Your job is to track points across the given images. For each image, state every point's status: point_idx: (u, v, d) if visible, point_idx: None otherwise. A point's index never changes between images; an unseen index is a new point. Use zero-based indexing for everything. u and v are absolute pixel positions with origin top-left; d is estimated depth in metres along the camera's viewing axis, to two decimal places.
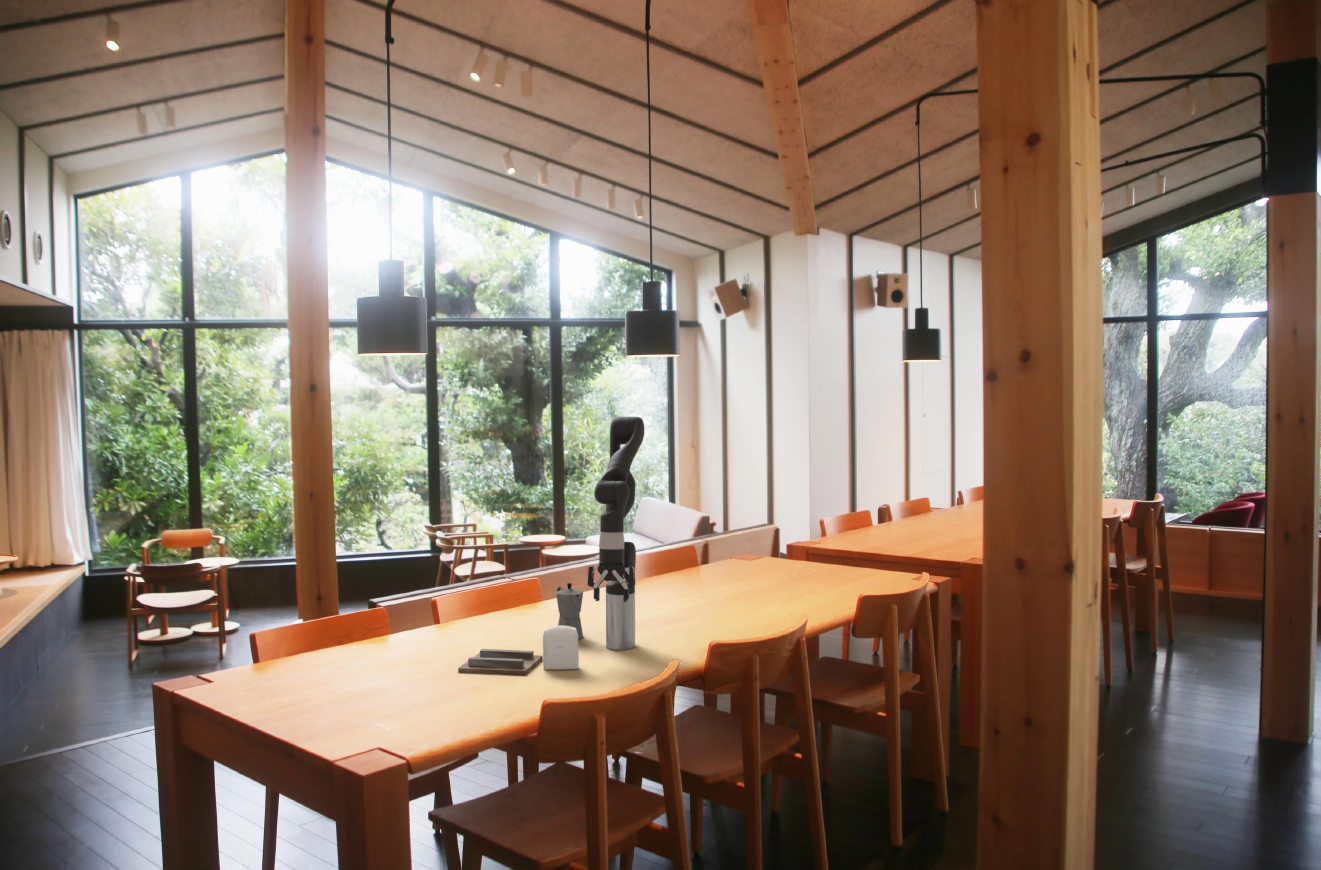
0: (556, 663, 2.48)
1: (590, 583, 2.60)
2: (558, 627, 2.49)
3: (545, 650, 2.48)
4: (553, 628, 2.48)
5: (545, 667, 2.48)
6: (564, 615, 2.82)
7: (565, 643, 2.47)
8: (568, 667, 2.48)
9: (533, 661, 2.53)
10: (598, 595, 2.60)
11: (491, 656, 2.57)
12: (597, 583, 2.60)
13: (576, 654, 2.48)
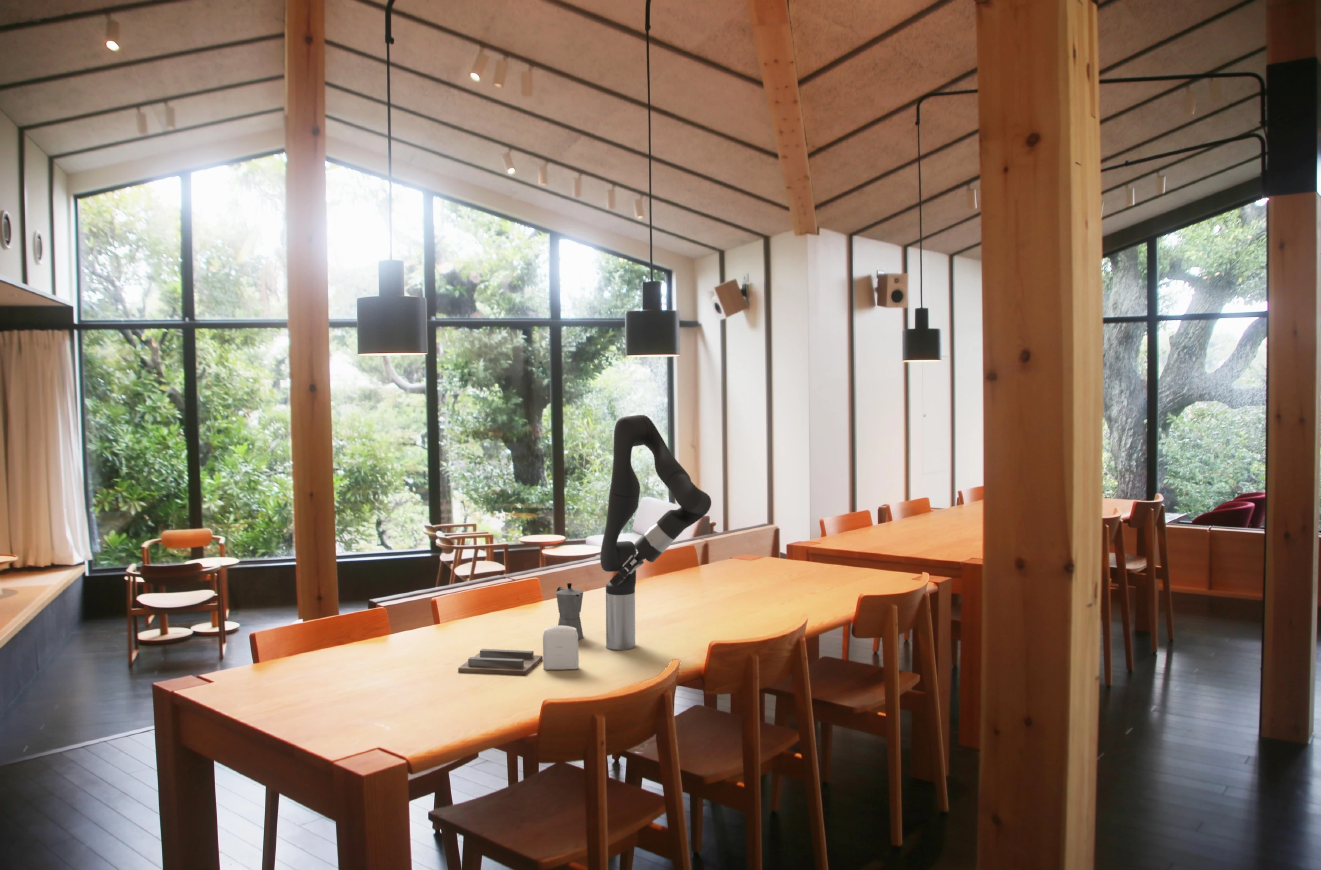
0: (556, 663, 2.48)
1: (626, 575, 2.40)
2: (558, 627, 2.49)
3: (545, 650, 2.48)
4: (553, 628, 2.48)
5: (545, 667, 2.48)
6: (564, 615, 2.82)
7: (565, 643, 2.47)
8: (568, 667, 2.48)
9: (533, 661, 2.53)
10: None
11: (491, 656, 2.57)
12: (628, 573, 2.42)
13: (576, 654, 2.48)
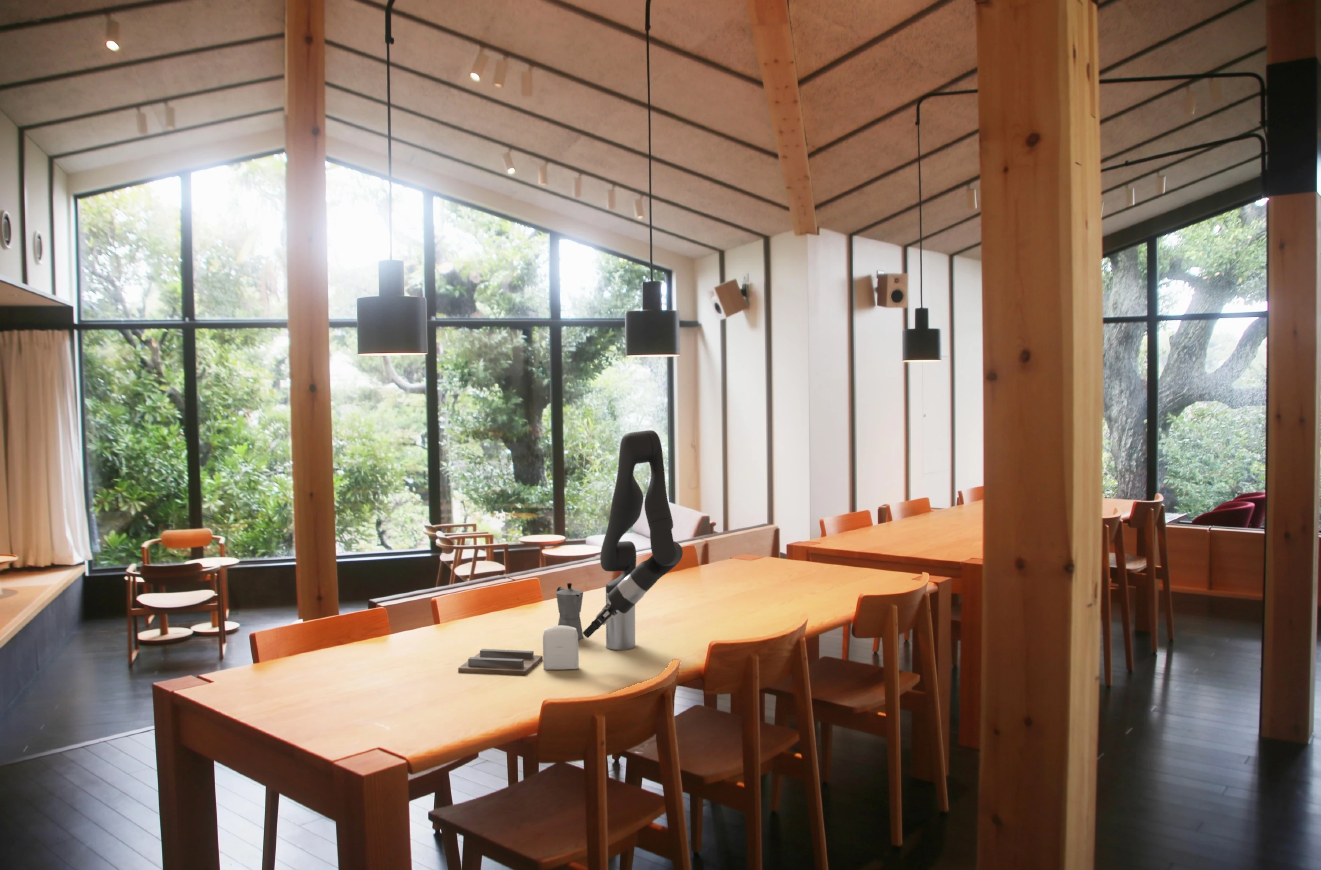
0: (556, 663, 2.48)
1: None
2: (558, 627, 2.49)
3: (545, 650, 2.48)
4: (553, 628, 2.48)
5: (545, 667, 2.48)
6: (564, 615, 2.82)
7: (565, 643, 2.47)
8: (568, 667, 2.48)
9: (533, 661, 2.53)
10: None
11: (491, 656, 2.57)
12: None
13: (576, 654, 2.48)
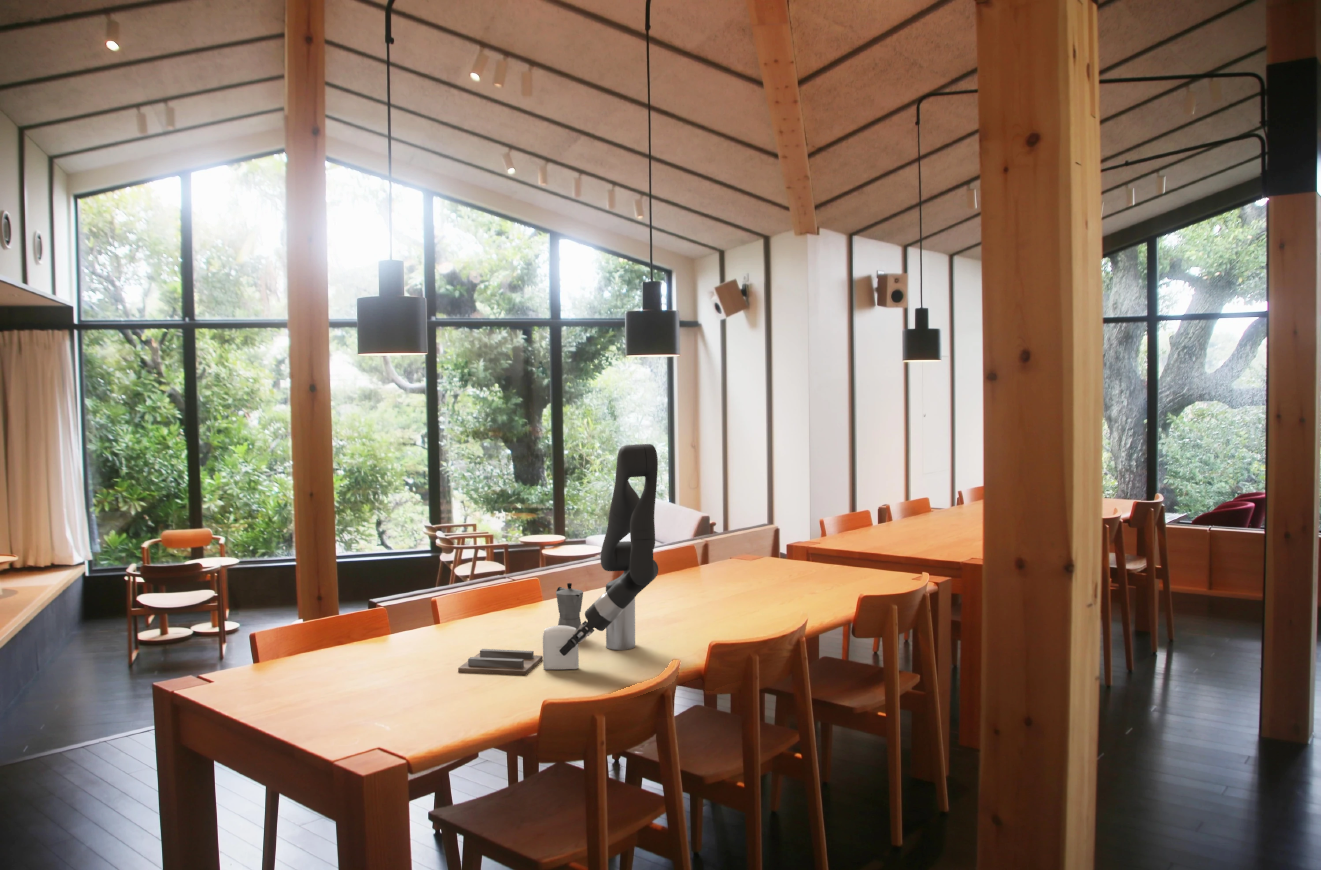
0: (556, 663, 2.47)
1: (575, 645, 2.44)
2: (558, 627, 2.48)
3: (545, 650, 2.48)
4: (553, 628, 2.48)
5: (545, 667, 2.48)
6: (564, 615, 2.82)
7: (565, 643, 2.47)
8: (568, 667, 2.48)
9: (533, 661, 2.53)
10: None
11: (491, 656, 2.57)
12: None
13: (576, 654, 2.48)
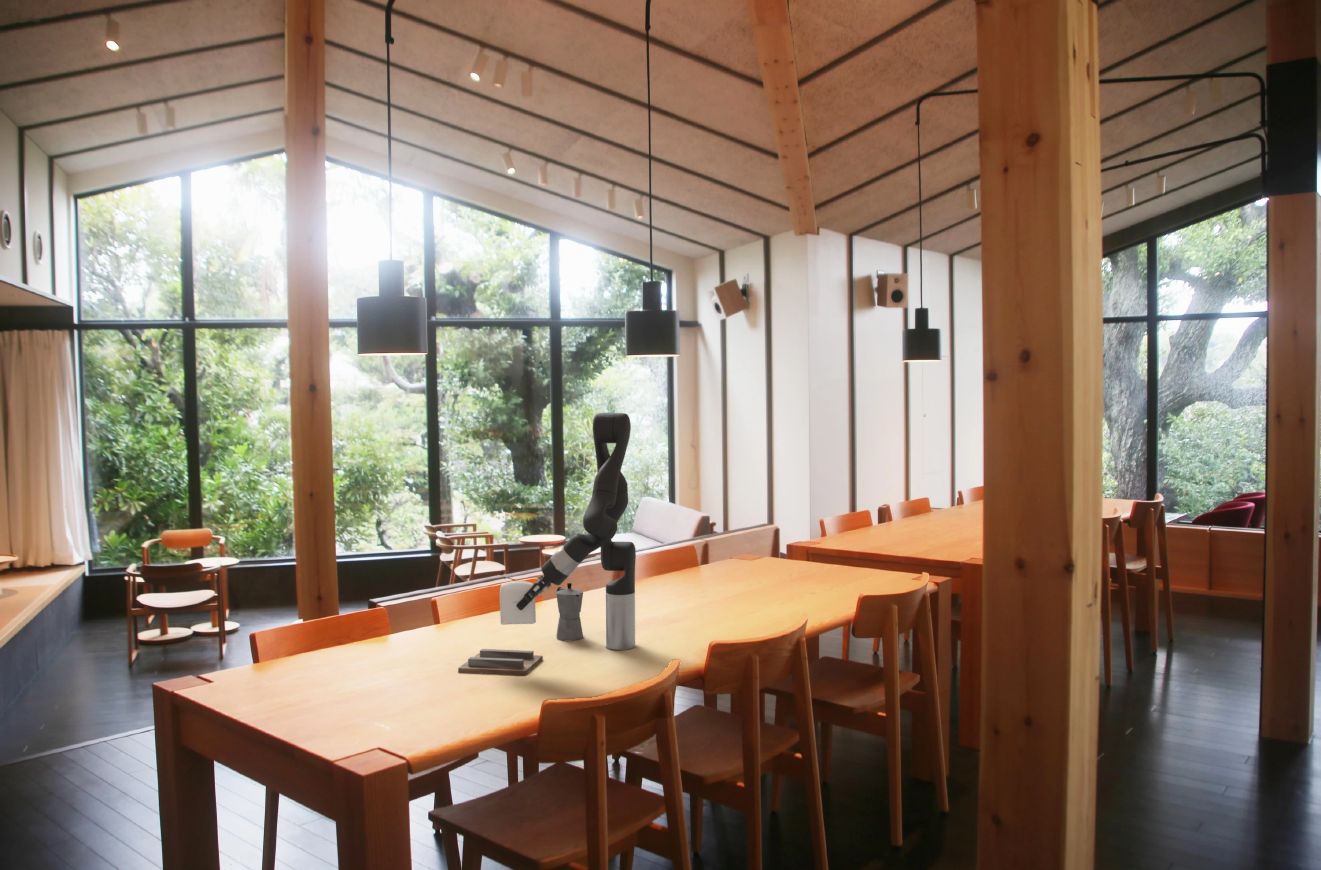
0: (513, 618, 2.49)
1: (531, 599, 2.46)
2: (515, 582, 2.50)
3: (502, 605, 2.49)
4: (510, 583, 2.49)
5: (502, 622, 2.49)
6: (564, 615, 2.82)
7: (521, 598, 2.48)
8: (525, 622, 2.49)
9: (533, 661, 2.53)
10: None
11: (491, 656, 2.57)
12: (534, 597, 2.47)
13: (533, 609, 2.49)
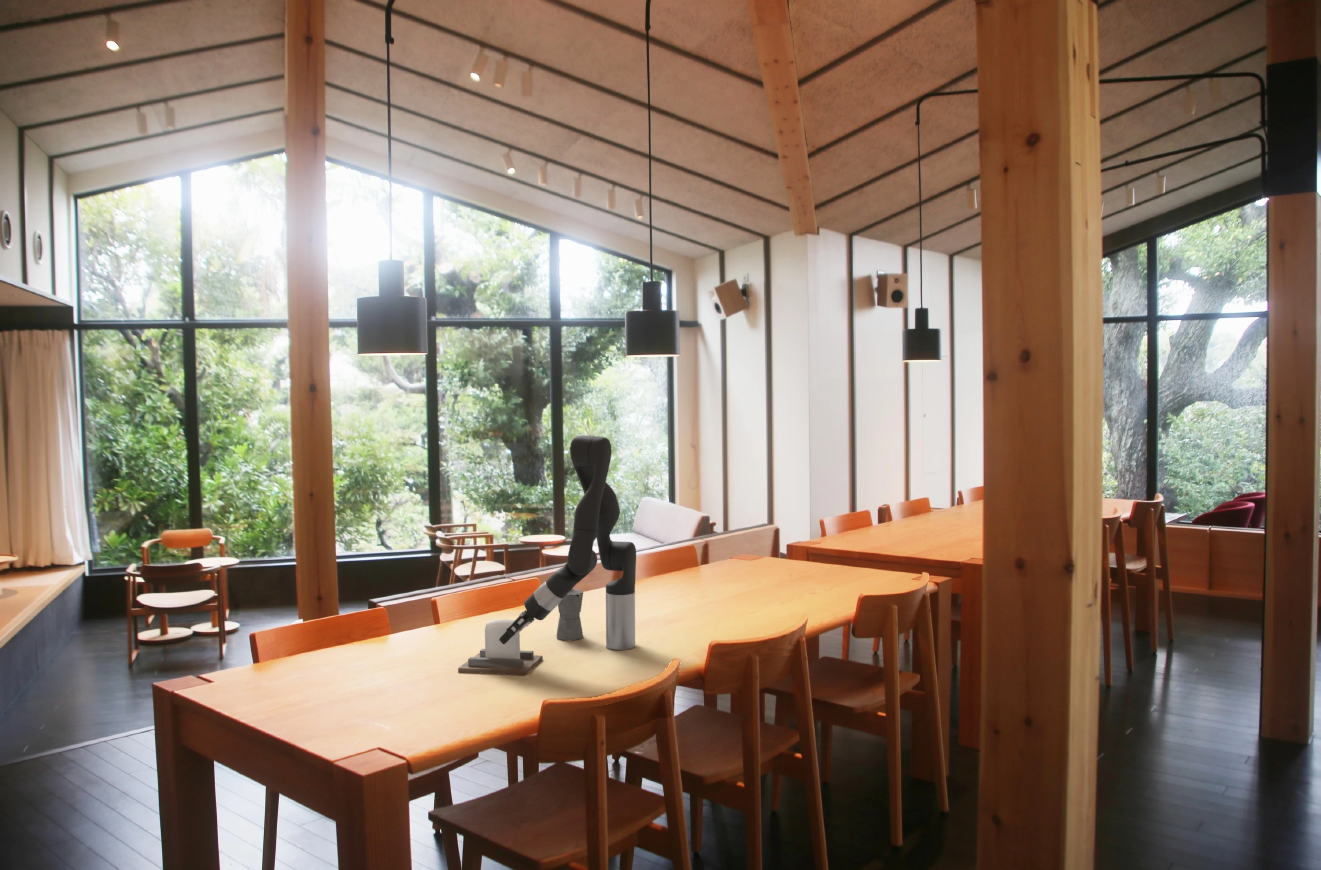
0: (497, 656, 2.51)
1: (514, 634, 2.45)
2: (499, 620, 2.52)
3: (486, 643, 2.51)
4: (494, 621, 2.52)
5: None
6: (564, 615, 2.82)
7: None
8: None
9: (533, 661, 2.53)
10: None
11: None
12: None
13: (517, 647, 2.51)
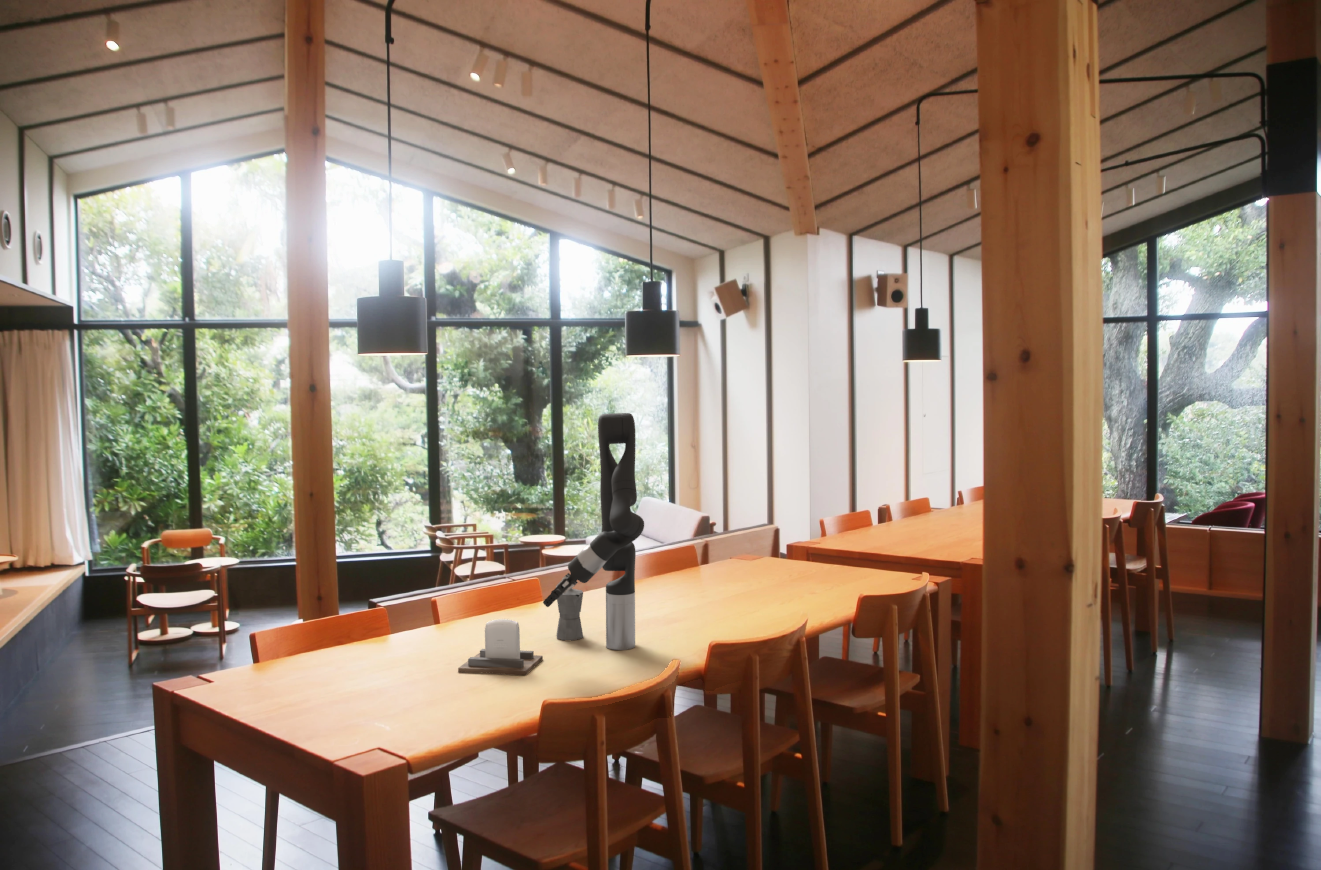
0: (497, 656, 2.51)
1: (558, 596, 2.43)
2: (499, 620, 2.52)
3: (486, 643, 2.51)
4: (494, 621, 2.52)
5: None
6: (564, 615, 2.82)
7: (505, 637, 2.51)
8: None
9: (533, 661, 2.53)
10: None
11: None
12: (561, 594, 2.45)
13: (517, 647, 2.51)
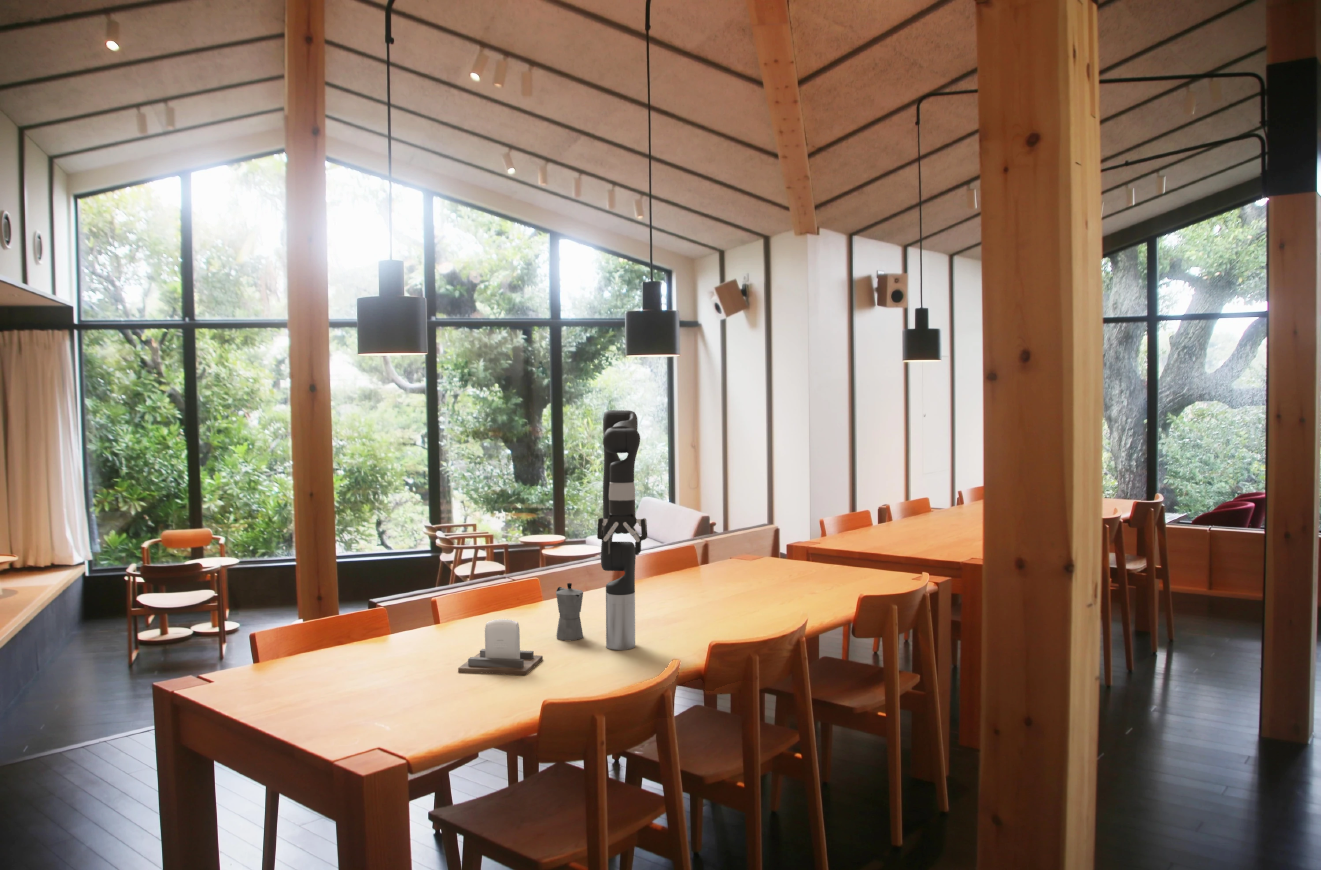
0: (497, 656, 2.51)
1: (600, 536, 2.48)
2: (499, 620, 2.52)
3: (486, 643, 2.51)
4: (494, 621, 2.52)
5: None
6: (564, 615, 2.82)
7: (505, 637, 2.51)
8: None
9: (533, 661, 2.53)
10: (608, 548, 2.48)
11: None
12: (607, 536, 2.47)
13: (517, 647, 2.51)
